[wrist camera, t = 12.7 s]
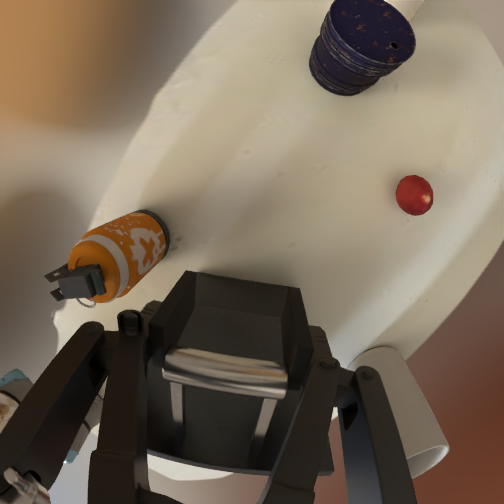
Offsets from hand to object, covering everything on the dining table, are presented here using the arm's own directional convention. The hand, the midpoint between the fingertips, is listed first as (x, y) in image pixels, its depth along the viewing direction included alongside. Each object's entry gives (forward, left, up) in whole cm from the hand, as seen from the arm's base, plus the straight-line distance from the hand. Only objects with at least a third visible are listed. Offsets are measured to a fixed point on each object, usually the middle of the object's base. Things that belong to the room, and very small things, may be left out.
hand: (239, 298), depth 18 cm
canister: (-18, -5, -23) cm, 30 cm away
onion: (+22, +9, -23) cm, 33 cm away
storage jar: (+9, +26, -23) cm, 36 cm away
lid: (0, -9, -2) cm, 9 cm away
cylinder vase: (+28, -25, -23) cm, 44 cm away
